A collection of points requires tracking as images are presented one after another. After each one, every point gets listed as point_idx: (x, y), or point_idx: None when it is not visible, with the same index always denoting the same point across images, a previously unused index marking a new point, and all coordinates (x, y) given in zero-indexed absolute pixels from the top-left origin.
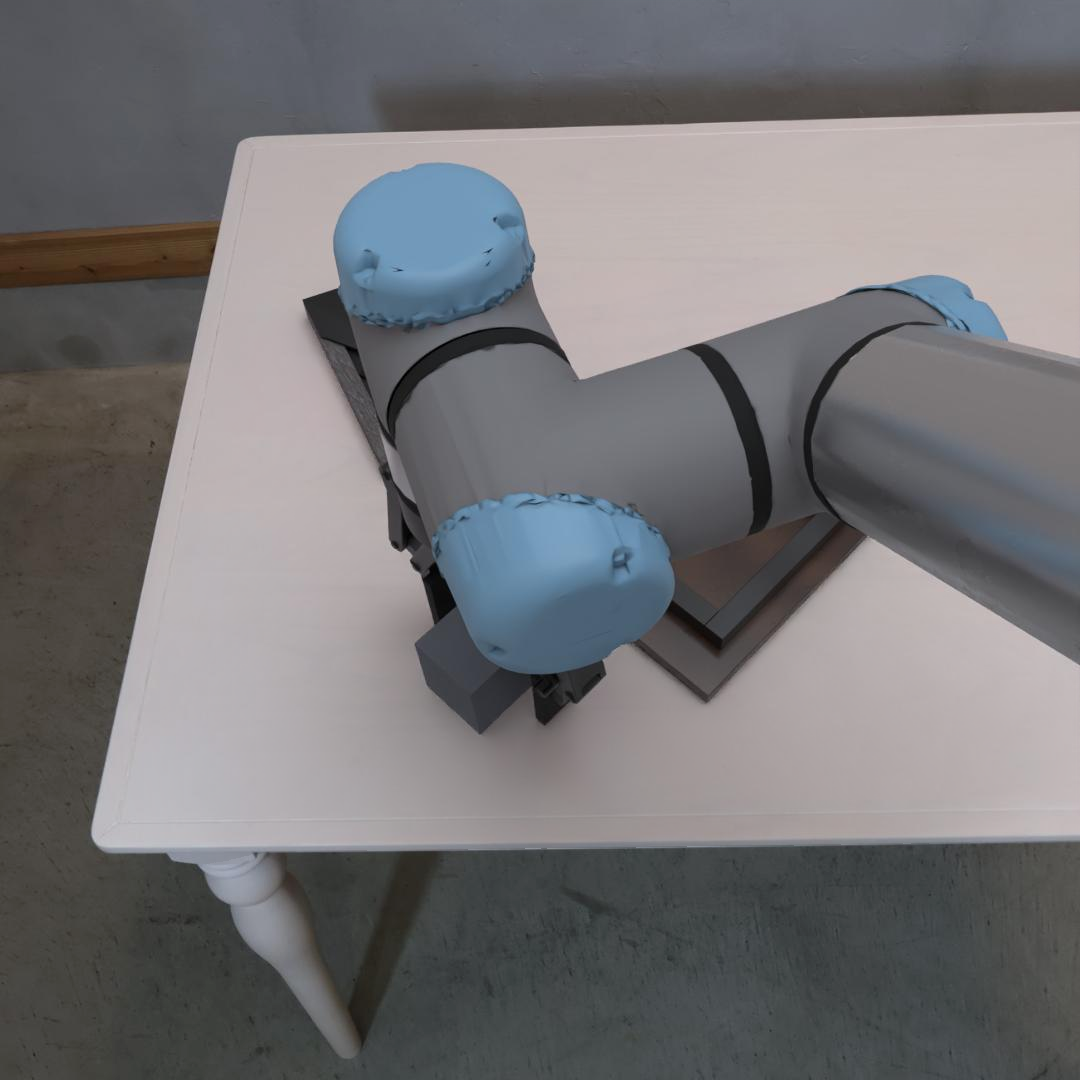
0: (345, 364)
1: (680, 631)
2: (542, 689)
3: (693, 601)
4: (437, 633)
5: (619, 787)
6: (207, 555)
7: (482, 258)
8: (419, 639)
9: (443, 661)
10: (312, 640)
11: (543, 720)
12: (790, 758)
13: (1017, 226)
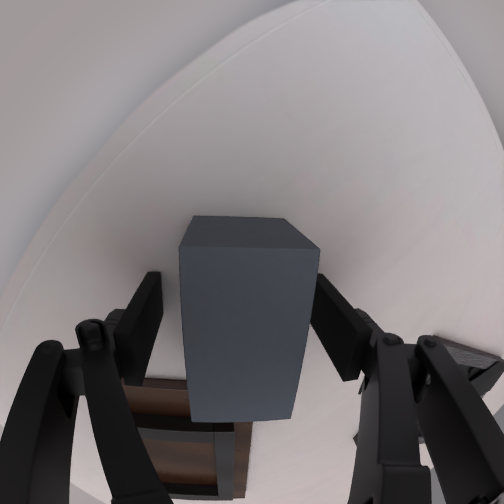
0: (483, 363)
1: (136, 406)
2: (86, 331)
3: (141, 434)
4: (301, 286)
5: (61, 271)
6: (495, 190)
7: None
8: (318, 260)
9: (259, 259)
10: (407, 179)
11: (145, 276)
12: (26, 363)
13: None
